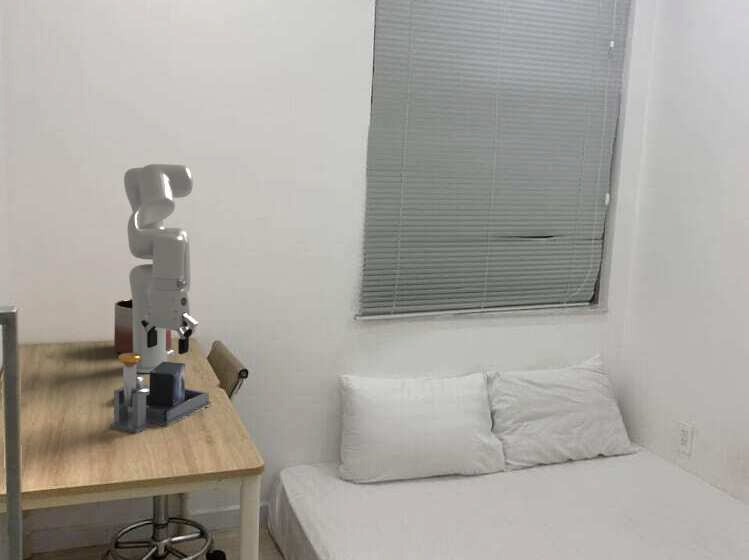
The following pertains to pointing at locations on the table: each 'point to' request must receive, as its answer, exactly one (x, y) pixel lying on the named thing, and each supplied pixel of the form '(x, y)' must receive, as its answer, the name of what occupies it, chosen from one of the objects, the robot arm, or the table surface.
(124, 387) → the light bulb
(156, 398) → the small box
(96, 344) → the table surface
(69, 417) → the table surface
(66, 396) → the table surface
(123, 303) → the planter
